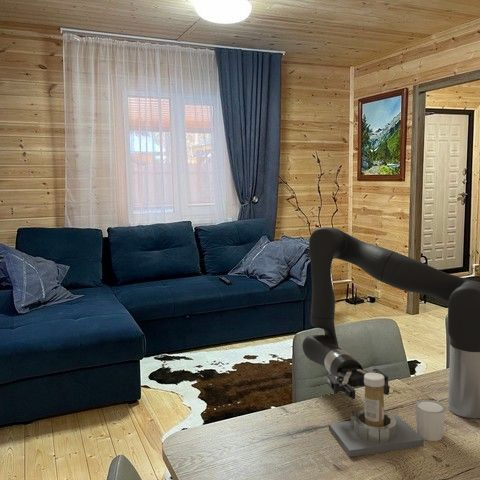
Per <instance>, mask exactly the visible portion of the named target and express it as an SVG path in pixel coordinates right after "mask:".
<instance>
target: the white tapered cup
mask: <svg viewBox="0 0 480 480" xmlns="http://www.w3.org/2000/svg"><path fill="white" fill-rule="evenodd" d="M414 411H415V424H416V433H418V434H419V435H420V436H421V437H422V438H423V439H424V441H425V440H426V441H431V442H432V441H433V442H437V441H440V440H442V438H443V436H444V428H445V422H446V413H447V408H446V406H445V405H444V404H443V403H440V402H439V401H434V400H427V399H424V400H423V399H422V400H418V401H416V402H415V404H414Z"/></svg>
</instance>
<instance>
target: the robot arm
mask: <svg viewBox="0 0 480 480" xmlns="http://www.w3.org/2000/svg"><path fill="white" fill-rule="evenodd" d="M308 247H309V249H308V251H309V259H310V273H311V306H310V324H311V326H312V327H314V328H317V329H323V332H324V334H309V335H307V336H306V337H305V338H304V339H303V341H302V344H301V345H302V351H303V353H304V355H305V357H306V358H307V359H309V360H310V361H312V362H314V363H316V364H318V365H320V366H322V367H323V368H325V369H326V370H327V373H328V374H327V385H328V387H329V388H330V389H331V390H332V392H333V393H334V394H339V393H340V392H341V393H342V394H345V396H346V397H348V398H350V399H351V400H355V399H356V390H355V388H358V387H364V388H365V383H364V375H365V374H367V373H379V374H382V375H383V376H384V396H388V395H390V385H389V376H388V375H387V374H385V373H384V372H382V371H381V370H379V369H378V368H373V369H372V372H371V371H370V372H369V371H367V370H364V368H363V366H362V365H361V363H360V362H359V361H358V360H357V359H356V358H354V356H352V355H350V354H349V353H348V352H346V351H345V350H343V348H340V347H339V341H338V337H337V334H336V328H335V327H336V326H335V313H336V312H335V311H336V298H335V297H336V296H335V290H334V286H333V281H332V264H333V259H337V260H341V261H344V262H347V263H349V264H352V265H355V266H357V267H358V268H360V269H361V270H363V272H365V273H367V274H368V275H369V276H370V277H372V278H374V279H375V280H377V281H378V282H381V283H383V284H386V285H388V286H390V287H392V288H396V289H397V290H398V289H399V290H401V291H405V292H409V293H416V294H419V295H427V296H430V297H434V298H437V299H439V300H441V301H444V302H445V303H448V305H447V330H448V331H447V333H448V337H449V371H448V372H449V373H448V396H447V397H448V398H447V403H448V404H447V406H448V408H447V409H448V410H449V411H450V412H451V413H453V414H454V415H457V416H460V417H463V418H467V419H480V281H476V280H471V279H468V278H464V277H461V276H458V275H456V274H455V275H453V274H451V273H447V272H446V271H445V272H444V271H442V270H440V269H437V268H435V267H433V266H430V265H429V264H426V263H424V262H421V261H419V260H416V259H414V258H412V257H410V256H407V255H405V254H401V253H400V252H397V251H394V250H391V249H387V248H385V247H382V246H378V245H375V244H371V243H369V242H368V243H367V242H365V241H362V240H360V239H358V238H356V237H355V236H352V235H351V234H348V233H346V232H345V231H343V230H341V229H339V228H335V227H329V226H327V227H325V226H324V227H318V228H316V229H314V230H313V231H312V233H311V234H310V236H309V239H308Z"/></svg>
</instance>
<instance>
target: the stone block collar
mask: <svg viewBox="0 0 480 480" xmlns="http://www.w3.org/2000/svg"><path fill="white" fill-rule="evenodd" d="M392 415H393V414H391V413H388V412H386V411H384V426H383V427H373V426H368V425H366V424H365V409H362V410H359V411H358V412H357V411H353V410H352V411H351V414H350V421H351V428H354V432H355V433H356V434H357V436H359V437H360V438H362V439H365V440H367V441H372V442H387V441H391V440H392V439H393V438H395V437H396V419H395V418H394V417H393V416H392Z"/></svg>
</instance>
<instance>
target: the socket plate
mask: <svg viewBox="0 0 480 480" xmlns="http://www.w3.org/2000/svg"><path fill="white" fill-rule="evenodd" d="M391 415H392V416H393V417H394V418H395V419H396V437H395V438H393V439H392V440H391V441H387V442H372V441H367V440H365V439H362V438H360V437H359V436H357V434H356V433H355V432H354V428H351V420H345V421H338V422H329V423H328V430H329V431H330V433H331V435H332V436H333V437H334V438H335V440H336V441H337V442H338V444H339V445H340V446H341V448H342V449H343V450H344V452H345V453H346V454H347V456H348V457H350V458H352V457H359V456H364V455H371V454H376V453H377V454H378V453H379V454H380V453H384V452H392V451H397V450H406V449H411V448H417V447H424V446H425V439H423V438H422V437H421V436H420V435H419V434H418V433H417V431H416V430H414V429H413V428H412V427H411V426H410V425H409V424H408V423H407V422H406V421H405V420H403V418H401V417H400V416H399V415H398V414H397V413H396V414H391Z"/></svg>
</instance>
